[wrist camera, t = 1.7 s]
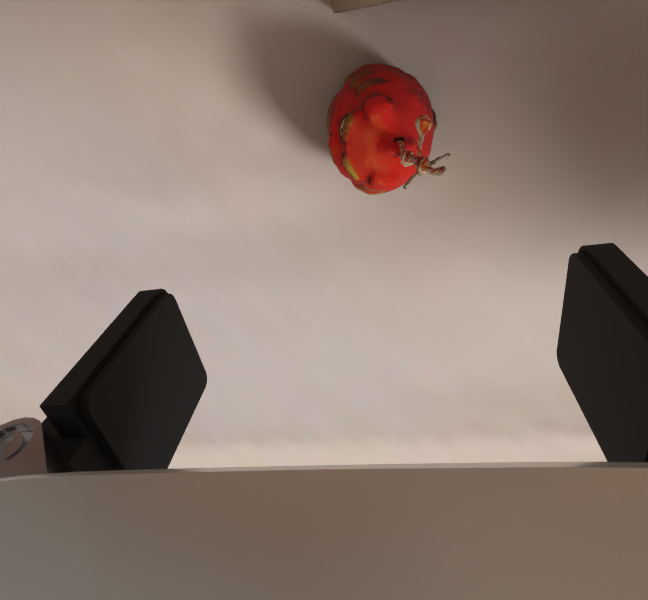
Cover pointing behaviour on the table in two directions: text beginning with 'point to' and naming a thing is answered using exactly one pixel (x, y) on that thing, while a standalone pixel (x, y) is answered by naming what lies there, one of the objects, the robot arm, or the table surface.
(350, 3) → the display tray
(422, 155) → the red clay folk toy
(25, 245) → the table surface
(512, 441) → the table surface
